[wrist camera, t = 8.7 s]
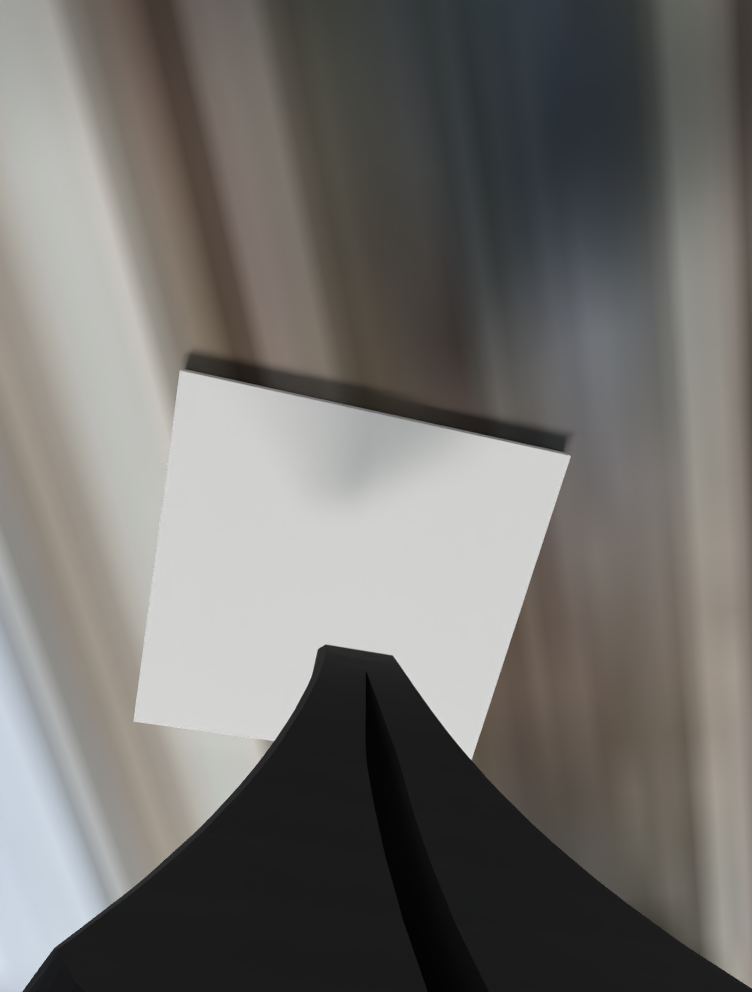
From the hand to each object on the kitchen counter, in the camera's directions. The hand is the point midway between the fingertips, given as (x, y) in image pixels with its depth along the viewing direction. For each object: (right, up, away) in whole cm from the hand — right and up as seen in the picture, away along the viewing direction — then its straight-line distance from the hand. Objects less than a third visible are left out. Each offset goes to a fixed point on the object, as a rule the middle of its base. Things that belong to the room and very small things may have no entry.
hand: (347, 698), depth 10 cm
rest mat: (0, +1, +4) cm, 4 cm away
